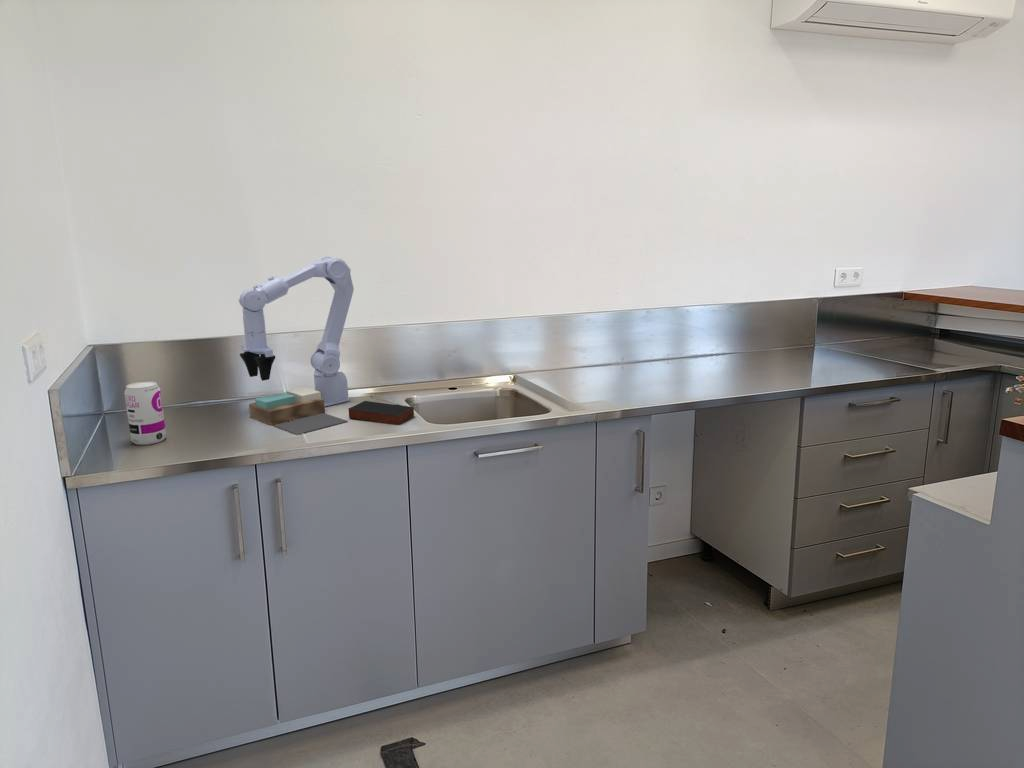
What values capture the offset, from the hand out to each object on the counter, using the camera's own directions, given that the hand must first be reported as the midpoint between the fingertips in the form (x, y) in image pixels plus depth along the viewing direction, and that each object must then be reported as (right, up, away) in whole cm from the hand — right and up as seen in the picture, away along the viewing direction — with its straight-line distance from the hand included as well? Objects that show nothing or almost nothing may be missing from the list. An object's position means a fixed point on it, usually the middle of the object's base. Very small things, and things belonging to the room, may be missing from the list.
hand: (259, 378), depth 211 cm
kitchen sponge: (+34, -11, -8) cm, 36 cm away
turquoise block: (+6, -7, -4) cm, 10 cm away
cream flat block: (+12, -6, +3) cm, 14 cm away
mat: (+17, -13, -9) cm, 24 cm away
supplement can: (-21, -17, -22) cm, 35 cm away
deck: (+8, -11, 0) cm, 14 cm away
